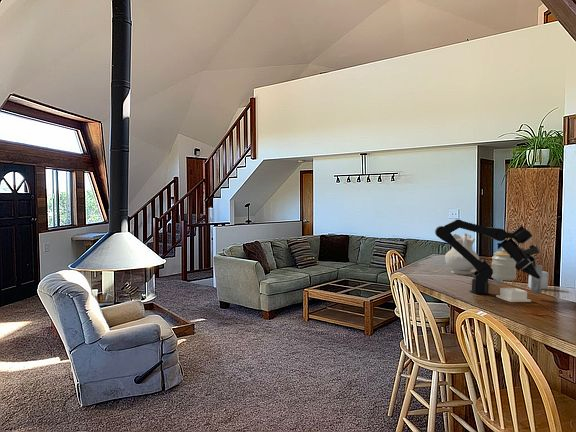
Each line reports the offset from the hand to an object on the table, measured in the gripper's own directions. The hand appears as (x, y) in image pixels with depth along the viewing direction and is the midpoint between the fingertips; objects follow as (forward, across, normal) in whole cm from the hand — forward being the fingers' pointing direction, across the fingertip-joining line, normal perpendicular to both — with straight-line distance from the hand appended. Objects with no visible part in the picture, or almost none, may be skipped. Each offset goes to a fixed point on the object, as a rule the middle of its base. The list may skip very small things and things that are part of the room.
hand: (540, 277), depth 196 cm
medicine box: (+4, +32, +11) cm, 34 cm away
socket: (+1, -8, +13) cm, 16 cm away
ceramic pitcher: (-27, +54, +41) cm, 73 cm away
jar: (-10, +52, +25) cm, 58 cm away
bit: (+4, 0, +6) cm, 7 cm away
